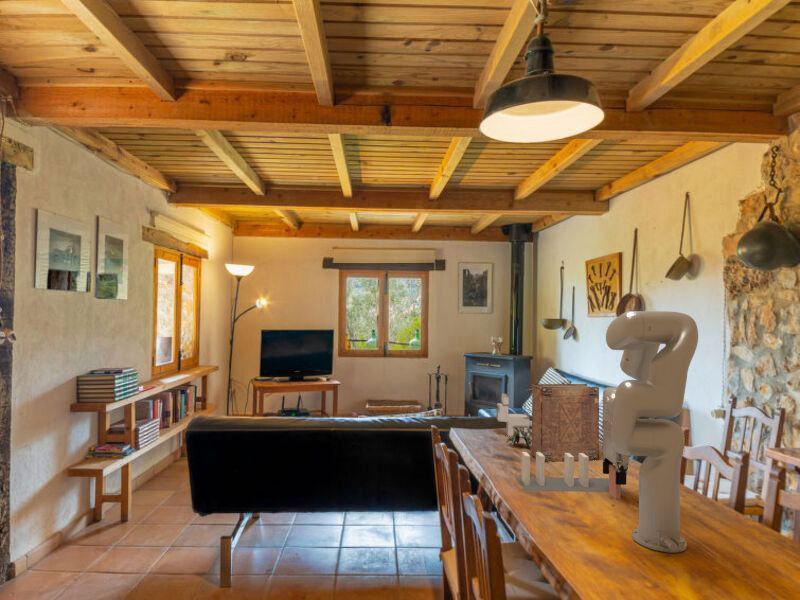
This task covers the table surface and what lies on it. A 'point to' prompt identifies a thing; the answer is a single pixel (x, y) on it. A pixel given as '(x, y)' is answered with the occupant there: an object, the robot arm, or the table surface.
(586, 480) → the domino
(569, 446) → the book
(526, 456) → the domino
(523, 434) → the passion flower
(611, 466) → the domino
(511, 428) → the toy llama
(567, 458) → the domino
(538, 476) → the domino
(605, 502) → the table surface
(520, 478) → the domino mat
